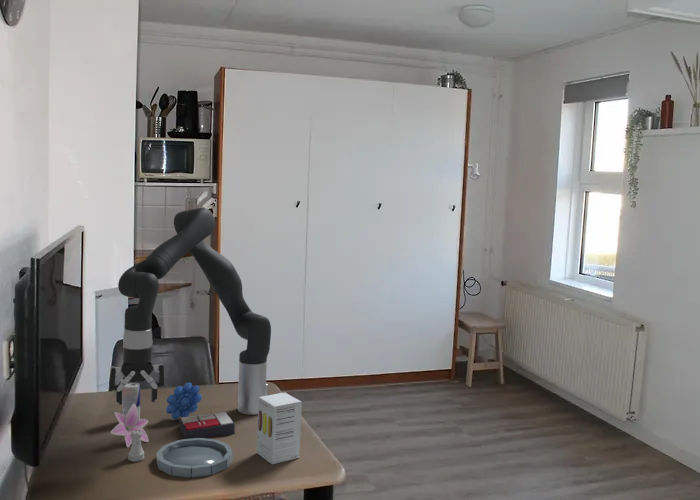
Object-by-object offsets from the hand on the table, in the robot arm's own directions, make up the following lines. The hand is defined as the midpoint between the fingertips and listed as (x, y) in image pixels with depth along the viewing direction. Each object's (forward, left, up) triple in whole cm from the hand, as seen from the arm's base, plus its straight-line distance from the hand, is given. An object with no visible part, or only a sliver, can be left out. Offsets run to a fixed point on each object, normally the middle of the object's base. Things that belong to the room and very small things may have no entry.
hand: (136, 402), depth 183 cm
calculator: (-22, -15, -17) cm, 32 cm away
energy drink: (-1, -29, -16) cm, 33 cm away
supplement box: (-38, +9, -16) cm, 42 cm away
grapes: (-17, -28, -16) cm, 37 cm away
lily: (+1, -13, -16) cm, 21 cm away
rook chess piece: (0, 0, -16) cm, 16 cm away
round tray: (-15, +6, -16) cm, 23 cm away
